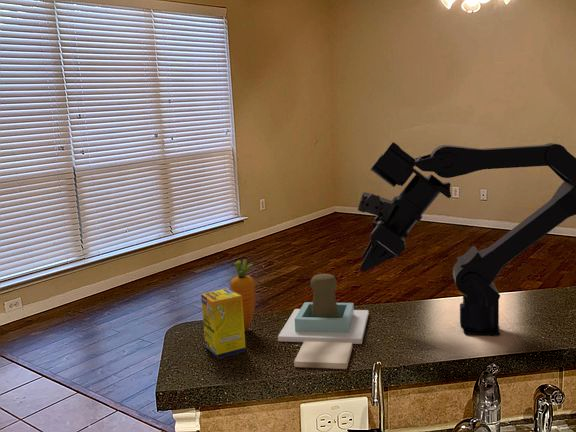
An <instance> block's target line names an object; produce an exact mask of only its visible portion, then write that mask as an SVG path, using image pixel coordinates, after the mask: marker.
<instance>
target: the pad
mask: <svg viewBox="0 0 576 432" xmlns="http://www.w3.org/2000/svg"><path fill="white" fill-rule="evenodd" d="M352 350H353V344H352V343H344V342H312V341H304V342H302V345H301V347H300V349H299V351H298V353H297V355H296V356H295V359H294V361H293V364H294V365H293V367H294V368H312V369H334V370H335V369H337V370H347V369H348V366H349V363H350V359H351V355H352Z"/></svg>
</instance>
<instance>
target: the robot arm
mask: <svg viewBox="0 0 576 432" xmlns="http://www.w3.org/2000/svg"><path fill="white" fill-rule="evenodd" d="M415 167H416V168H418V170H417V169H416V168H415ZM529 167H530V168H531V167H533V168H534V167H535V168H536V167H548V168H550V169H551V170H552V171H553V172H554V174H556V175H557V176H558V177H559V179H560V180H562V183H561V184H560V185H559V187H558V188H557V190H556V191H555V193H554V194H553V195H552V197H551V198H550V199H549V201H547V202H546V203H545V204H543V205H542V206H541V207H539V208H538V209H537V210H535V211H534V212H533V213H531V214H530V215H528V217H526V218H525V219H524V220H522V221H520V223H519V224H517V225H516V226H514V227H513V228H512V229H511V230H509V231H508V232H507V233H506V234H504V235H503V236H501V237H500V238H498V240H496V241H495V242H494V243H492V244H491V245H490V246H488V247H485V248H483V249H480V250H478V249H477V247H476V246H475V245H473V246H471V247H470V248H469V249H468V250H467V251H466V252H465V253H463V254H462V255H460V256H457V257H456V259H457V261H456V262H455V263H454V265H453V267H452V276H453V280H454V284H455V286H456V288H457V289H458V291H459V292H461V294H463V295H462V302H460V304H459V325H460V328H461V329H462V330H463V334H465V335H474V336H475V335H481V336H482V335H483V336H500V335H501V331H500V327H499V319H500V313H499V308H500V305H499V304H500V301H499V300H500V298H501V294H500V293H499V291H498V289H497V287H496V285H495V284H494V281H495V280H496V278H497V277H498V275H499V274H500V272H501V270H502V269H503V268H504V267H505V266H506V265H507V264H508V263H510V262H511V261H512V260H514V259H515V258H517V256H520V255H521V253H523V252H525V251H526V250H527V249H529V248H530V247H531V246H533V245H534V244H535V243H536V242H538V241H539V240H540V239H542V238H543V237H545V236H546V235H547V234H548V233H550V232H551V231H552V230H554V229H556V227H558V226H559V225H560V224H562V223H563V222H564V221H566V220H567V219H569V218H571V217H573V216H576V157H575V156H574V155H573V154H572V153H570V152H569V151H568V150H567V148H565V147H564V146H563V145H561V143H560V144H559V143H554V142H549V143H545V144H537V145H536V144H535V145H522V146H521V145H520V146H506V147H505V146H504V147H503V146H502V147H501V146H500V147H489V148H486V147H485V148H476V147H468V146H460V145H452V144H451V145H450V144H442V145H438V146H436V147H435V148H434V149H433V150H432V152H431V153H430V154H425V155H422V156H420V155H419V156H418V157H415V158H414V157H413V156H412V155H410V154H409V153H408V152H407V151H405V150H403V149H402V148H401V147H400V146H399V144H397V143H396V142H395V141H393V142H391V144H390V145H389V146H388V147H387V149H386V150H385V151H384V152H383V153H381V155H380V156H379V157H378V159H377V160H376V161H375V162H374V164H373V165H372V167H371V168H370V171H371V172H373V173H374V174H375V175H377V177H379V178H381V179H382V180H383V181H385V182H386V183H387V184H388V185H390V186H391V187H393V188H395V187H396V186H399V187H403V186H404V185H405V184H406V182H407V181H408V180H409V179H410V178H411V176H412V175H413V174H415V175H414V176H413V177H412V178H411V180H410V181H409V182H408V184H407V185H406V186H405V187H404V188H403V189H402V191H401V192H400V194H399V195H397V196H396V195H395V196H394V197H393V198H392V199H391V200H390V199H388V198H386V197H382V196H380V194H378V195H377V194H374V193H370V192H369V193H368V192H367V191H366V192H365V191H363V192H362V194H361V197H360V201H359V203H358V206H357V211H359V212H361V213H368V214H371V215H374V216H375V218H374V220H373V223H372V224H373V225H372V226H373V230H372V231H371V233H370V235H369V236H370V237H369V239H370V241H369V243H368V244H367V247H366V249H365V250H364V252H363V254H362V258H363V261H362V263H361V265H360V267H359V270H360V271H361V272H362V273H365V272H367V271H369V270H372V269H373V268H375V267H377V266H379V265H381V264H383V263H384V262H387V261H389V260H391V259H393V258H396V257H397V256H398V257H400V256H401V254H402V253H403V252H404V250H405V249H406V241H405V239H406V238H407V236H409V232H410V231H411V229H412V228H413V227H414V225H415V224H416V223H417V222H420V221H421V220H422V219H423V215H424V213H425V212H426V211H427V210H428V208H429V207H430V206H431V205H432V204H433V202H434V201H435V200H436V198H437V197H438V196H439V195H440V194H442V195H443V196H444V197H446V198H448V199H451V198H452V194H451V186H452V185H451V183H450V182H449V181H447V182H443V181H441V180H440V179H439V178H437V177H436V176H434V175H433V174H432V173H434V174H435V175H437V176H438V177H440V178H443V179H450V178H454V177H455V178H456V177H459V176H465V175H468V174H472V173H475V172H477V171H484V170H496V169H509V168H510V169H516V168H517V169H518V168H529ZM419 170H421V172H420V171H419ZM422 172H428V173H430V172H431V174H429V175H428V176H425V174H423V173H422Z"/></svg>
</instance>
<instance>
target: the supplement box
mask: <svg viewBox="0 0 576 432" xmlns="http://www.w3.org/2000/svg"><path fill="white" fill-rule="evenodd" d="M200 298H201V307H202V308H201V309H202V311H201V312H202V321H203V322H202V323H203V334H204V344H205V345H204V346H205V350H208V351H209V353H211V354H212V355H213V356H214V357H215V358H216V359H217V360H218V359H223V358H225V357H229V356H232V355H233V356H234V355H238V354H241V353H243V352H244V353H245V352H246V351H247V348H246V335H245V334H246V333H245V330H244V317H243V301H242V296H241V295H239V294H237V293H235V292H234V291H232V290H231V288H227V287H226V288H222V289H218V290H214V291H207V292H203V293H201V294H200Z"/></svg>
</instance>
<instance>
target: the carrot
mask: <svg viewBox="0 0 576 432" xmlns="http://www.w3.org/2000/svg"><path fill="white" fill-rule="evenodd" d="M242 261H243V262H242ZM242 261H241V260H237V261H236V262H235V263H234V264H233V265H234V267H235V268H236V273H237V276H234V277H233V278H231V279H230V283H229V285H230V286H229V287H230V289H231V290H232V291H234V292H235V293H237V294H239V295H241V296H242V301H243V317H244V331H246V330H247V331H248V330H249V329H250V326H251V324H252V322H253V318H254V313H255V308H256V307H255V306H256V281H255V279H254V278H253V277H251V276H250V275H247V274H248V271H250V269H252V267H254V264H253V263H249V264H248V265H247V261H248V259H243V260H242ZM247 331H246V332H247Z"/></svg>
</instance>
